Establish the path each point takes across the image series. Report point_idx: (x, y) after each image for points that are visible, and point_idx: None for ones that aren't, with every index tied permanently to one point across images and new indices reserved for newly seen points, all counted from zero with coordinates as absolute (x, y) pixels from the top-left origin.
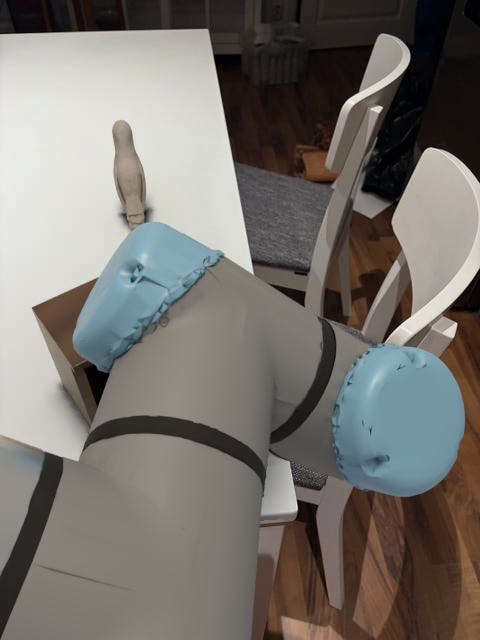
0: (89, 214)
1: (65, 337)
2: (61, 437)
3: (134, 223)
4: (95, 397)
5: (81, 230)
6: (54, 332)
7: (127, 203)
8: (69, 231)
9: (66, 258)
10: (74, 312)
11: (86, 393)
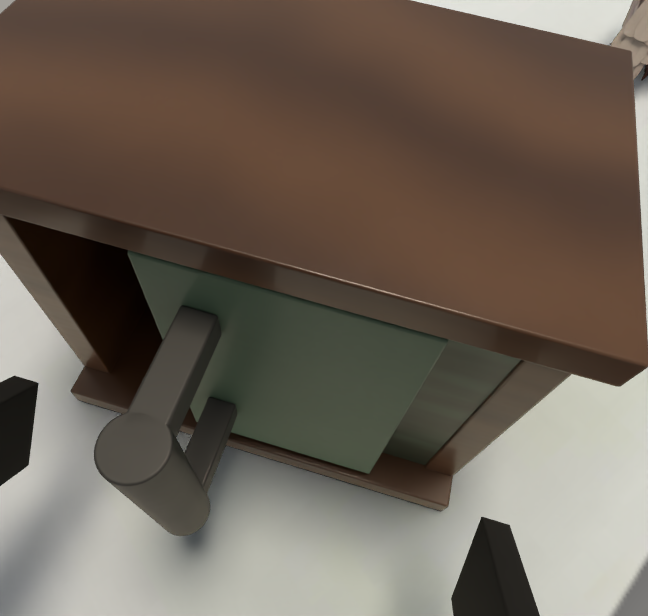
0: (554, 9)
1: (12, 49)
2: (47, 317)
3: None
4: None
5: (512, 21)
6: (18, 15)
7: (644, 5)
8: (492, 10)
9: None
10: (147, 12)
11: (33, 280)
